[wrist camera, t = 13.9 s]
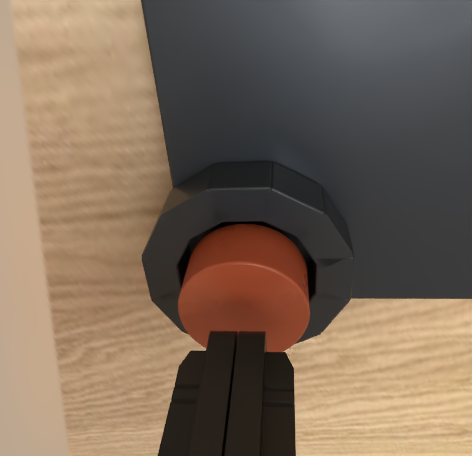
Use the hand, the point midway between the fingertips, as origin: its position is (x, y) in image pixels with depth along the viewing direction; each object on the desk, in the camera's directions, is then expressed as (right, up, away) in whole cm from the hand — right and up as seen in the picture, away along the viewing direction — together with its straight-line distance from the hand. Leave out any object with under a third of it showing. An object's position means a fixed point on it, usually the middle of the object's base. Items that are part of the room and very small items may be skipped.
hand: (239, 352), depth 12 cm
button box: (+3, +6, +4) cm, 8 cm away
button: (0, +2, +3) cm, 3 cm away
